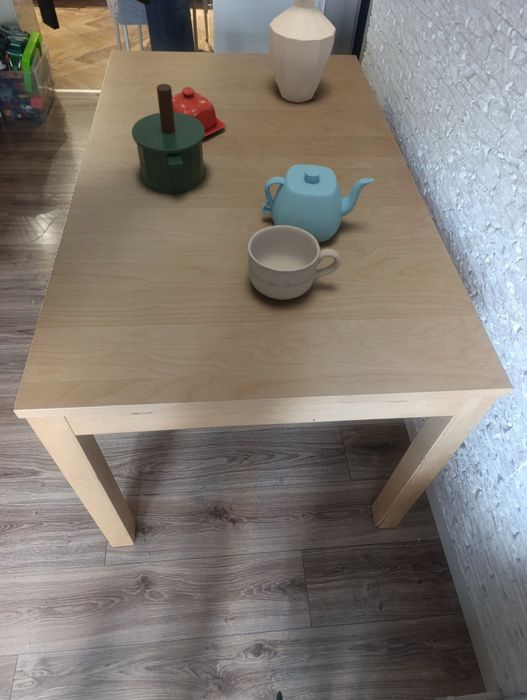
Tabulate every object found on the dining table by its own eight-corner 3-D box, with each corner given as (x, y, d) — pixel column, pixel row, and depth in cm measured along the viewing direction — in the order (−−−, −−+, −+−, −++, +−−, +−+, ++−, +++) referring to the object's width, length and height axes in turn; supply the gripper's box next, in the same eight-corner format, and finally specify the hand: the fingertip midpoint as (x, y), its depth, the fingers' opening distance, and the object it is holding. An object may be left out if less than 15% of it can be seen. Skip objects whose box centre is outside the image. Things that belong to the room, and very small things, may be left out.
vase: (327, 110, 114) (347, -21, 95) (265, 106, 114) (272, -26, 94) (324, 81, 123) (342, -45, 103) (266, 77, 123) (273, -49, 103)
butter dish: (228, 130, 107) (228, 89, 100) (188, 150, 102) (184, 109, 95) (192, 109, 112) (190, 69, 105) (152, 127, 106) (146, 86, 99)
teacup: (238, 301, 77) (239, 262, 71) (255, 255, 84) (257, 216, 77) (327, 320, 76) (336, 282, 69) (338, 272, 82) (346, 233, 76)
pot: (147, 205, 90) (140, 163, 84) (137, 153, 100) (131, 111, 93) (210, 198, 92) (209, 156, 86) (195, 148, 102) (193, 107, 96)
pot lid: (136, 159, 85) (128, 109, 78) (129, 121, 93) (121, 71, 86) (210, 153, 88) (209, 103, 81) (198, 115, 95) (195, 67, 88)
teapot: (377, 199, 77) (261, 189, 77) (363, 252, 86) (258, 243, 86) (372, 154, 85) (266, 145, 85) (360, 206, 93) (263, 198, 93)
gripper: (-62, -233, 41) (23, 47, 58) (179, -235, 52) (192, 0, 69) (-98, -243, 44) (-7, 26, 61) (136, -243, 55) (158, -16, 72)
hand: (98, 13), depth 65 cm, fingers open, 13 cm apart
